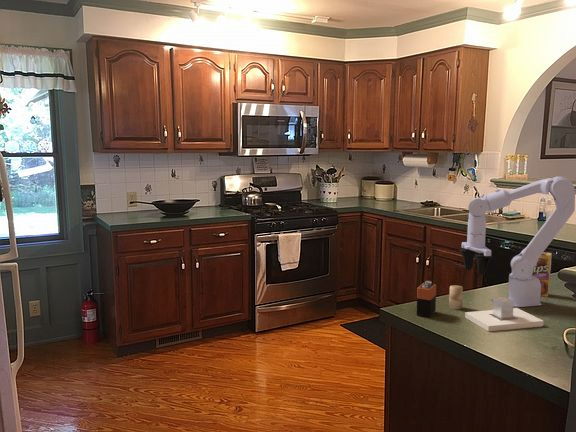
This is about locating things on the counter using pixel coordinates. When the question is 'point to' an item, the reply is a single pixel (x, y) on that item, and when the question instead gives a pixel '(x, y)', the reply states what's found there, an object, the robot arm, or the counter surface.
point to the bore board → (494, 324)
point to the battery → (426, 299)
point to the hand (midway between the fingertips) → (474, 272)
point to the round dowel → (455, 297)
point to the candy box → (543, 272)
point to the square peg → (503, 308)
